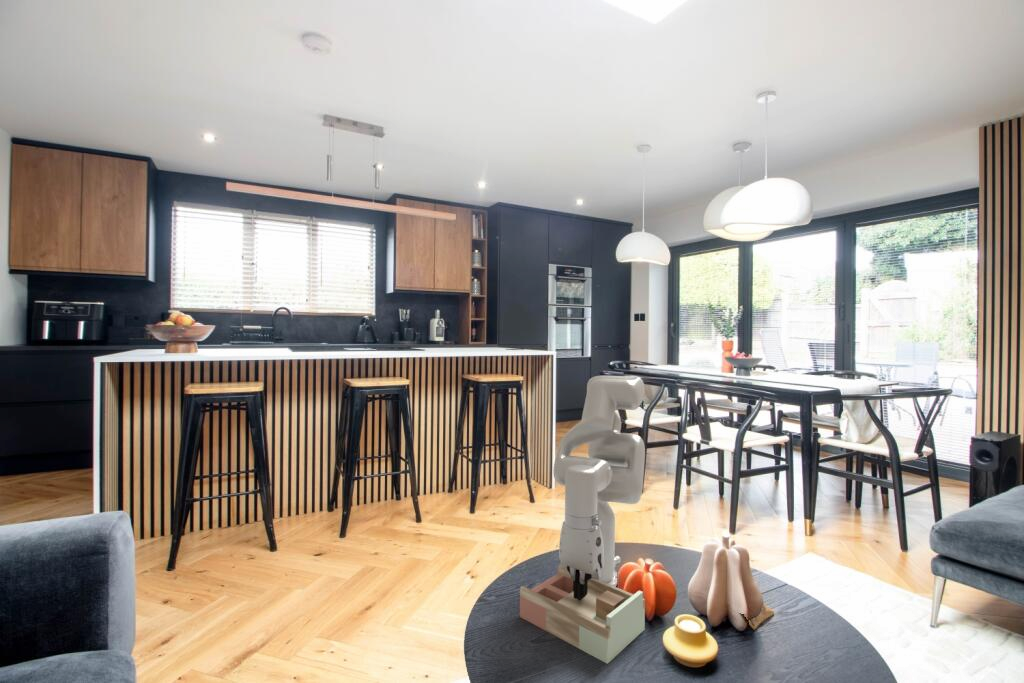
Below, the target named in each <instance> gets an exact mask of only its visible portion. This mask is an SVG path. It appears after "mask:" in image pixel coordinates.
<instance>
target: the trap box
mask: <svg viewBox="0 0 1024 683" xmlns="http://www.w3.org/2000/svg"><path fill="white" fill-rule="evenodd" d="M557 569H558V570H557V574H555V575H553V576H552V577H549V578H548V579H546V580H544V581H543V582H541V583H540V584H538V585H536V586H535V587H533V588H531V589H530V588H528V587H526V586H524V585H521V586H519V618H520V619H523V620H525V621H527V622H529V623H531V624H532V625H534V626H536V627H538V628H540V629H542V630H544V631H545V632H548V633H549V634H551V635H553V636H555V637H557V638H558V639H560V640H562V641H564V642H567V643H568V644H570V645H572V646H573V647H575V648H577V649H578V650H581V651H583V652H584V653H586V654H588V655H590V656H593V657H594V658H596V659H598V660H599V661H601V662H603V663H605V664H606V665H607V664H609V663H610V662H611V661H613V660H614V659H615V657H617V656H618V655H619V654H620V653H621V652H622V651H623V650H625V649H626V647H627V646H628V645H629V644H631V643H632V642H633V641H634V640H635V639H636V638H638V636H639V635H640V634H642V633H643V631H645V629H646V628H645V626H646V625H645V624H646V622H645V621H646V619H645V618H646V616H645V615H646V598H644V591H641V590H638V591H636V592H635V593H631V592H628V591H627V590H624V589H622V588H619V587H618V586H617V587H614V586H612V585H609V584H607V583H605V582H602V581H600V580H595V579H589V580H588V592H587V595H586V596H585V597H584V598H583V599H581V600H578V599H575V598H574V592H573V580H572V579H571V575H570V573H569V572H568V570H567V569H566V568H564V567H563V566H561V564H559V565H558V567H557ZM605 591H610V592H612V593H614V594H617V595H619V596H621V597H624V598H625V602H624V603H622V604H621V605H620V606H618V607H617V608H616V609H615V610H613V611H612V612H611V613H610V614H608V615H607V616H606V621H605V620H603V619H601V618H599V617H597V616H596V598H597V597H598V596H600V595H601V594H603V593H604V592H605Z"/></svg>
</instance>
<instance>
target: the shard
mask: <svg viewBox="0 0 1024 683" xmlns="http://www.w3.org/2000/svg"><path fill="white" fill-rule="evenodd" d="M774 614H775V611H774V610H773V609H771V608H770V607H769V606H767V605H766V604H763V609H762V611H761V613H760V614H759V615H758V616H757V617H756V618H753V619H751V620H749V624H748V625H749V626H750V627H751V628H752V629H753V630H756V629H757V628H758V627H759V626H760V625H761V624H762V623H763V622H764V621H766V620H767V619H768V618H770V617H772V616H773V615H774Z"/></svg>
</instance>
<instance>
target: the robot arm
mask: <svg viewBox="0 0 1024 683" xmlns="http://www.w3.org/2000/svg"><path fill="white" fill-rule="evenodd" d="M645 392H646V390H645V383H644V380H643V379H642V378H641V377H639V376H628V375H627V376H625V375H596V376H592V377H591V378H590V379H589V380H588V382H587V385H586V395H585V396H586V397H585V400H584V405H583V410H582V415H581V420H580V422H578V423H577V424H575V425H574V426H573V427H572V428H570V430H568V431H567V432H566V433H565V434H564V436H563V437H562V438H561V440H560V441H559V443H558V446H557V451H556V456H555V459H554V463H553V464H554V465H553V477H554V481H555V483H557V484H558V485H560V486H564V521H563V522H562V525H561V529H560V537H559V544H558V545H559V546H558V548H559V549H558V557H559V560H560V562H559V565H561V566H563V567H564V568H566V569H567V570H568V572H569V573H570V575H571V579H572V580H573V592H574V598H575V599H578V600H581V599H583V598H584V597H585V596H586V595H587V592H588V580H589V579H595V580H600V581H602V582H605V583H607V584H609V585H612V586H614V587H616V584H617V573H618V572H617V571H616V566H617V565H618V564H620V563H621V562H622V559H621V556H619V555H615V553H616V552H615V551H616V550H615V548H616V543H615V542H616V541H615V540H616V517H615V513H614V511H613V509H612V506H610V504H609V503H616V504H617V503H618V504H625V505H636V504H637V503H639V502H640V500H641V498H642V495H643V489H644V488H643V486H644V475H645V474H644V473H645V462H646V461H645V460H646V447H645V442H644V440H643V438H642V437H641V436H640V435H638V434H635V433H627V432H621V430H622V420H621V418H620V416H619V415H618V413H617V412H616V410H624V411H627V410H628V411H635V410H637V409H638V408H639V407H640V406H641V404H642V403H643V401H644V398H645ZM584 444H588V447H587V448H588V449H587V453H588V455H587V456H576V455H571V454H572V453H573V452H574V450H576V449H577V448H578V447H580V446H583V445H584Z"/></svg>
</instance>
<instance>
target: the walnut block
mask: <svg viewBox="0 0 1024 683" xmlns="http://www.w3.org/2000/svg"><path fill="white" fill-rule="evenodd" d="M624 602H625V598H624V597H621V596H619V595H617V594H614V593H612V592H610V591H605V592H604V593H603V594H601V595H600V596H598V597H597V598H596V616H597V617H599V618H601V619H603V620H605V621H606V616H607V615H608V614H610V613H611V612H612V611H613V610H615V609H616V608H617V607H618V606H620V605H621V604H622V603H624Z"/></svg>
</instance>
